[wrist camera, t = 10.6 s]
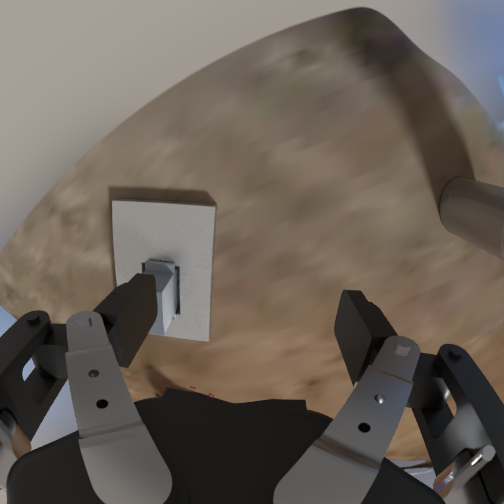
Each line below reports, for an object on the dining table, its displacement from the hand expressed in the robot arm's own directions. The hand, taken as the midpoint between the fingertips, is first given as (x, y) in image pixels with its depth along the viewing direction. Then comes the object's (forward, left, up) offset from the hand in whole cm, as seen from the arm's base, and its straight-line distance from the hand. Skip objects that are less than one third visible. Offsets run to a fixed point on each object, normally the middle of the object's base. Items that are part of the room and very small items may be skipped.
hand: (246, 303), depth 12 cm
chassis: (+11, +11, -25) cm, 30 cm away
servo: (+11, +12, -25) cm, 30 cm away
